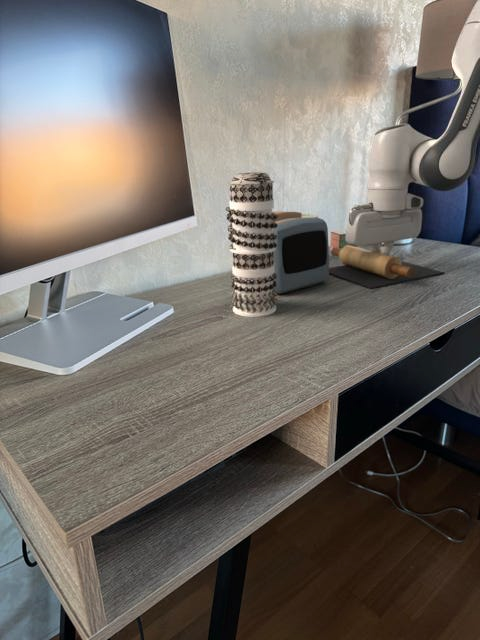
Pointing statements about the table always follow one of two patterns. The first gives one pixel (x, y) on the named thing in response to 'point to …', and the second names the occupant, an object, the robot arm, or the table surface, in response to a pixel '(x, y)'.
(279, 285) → the alarm clock
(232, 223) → the white patterned cylinder
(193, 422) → the table surface
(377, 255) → the rolling pin
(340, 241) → the puzzle toy
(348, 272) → the pastry mat
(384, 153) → the robot arm
